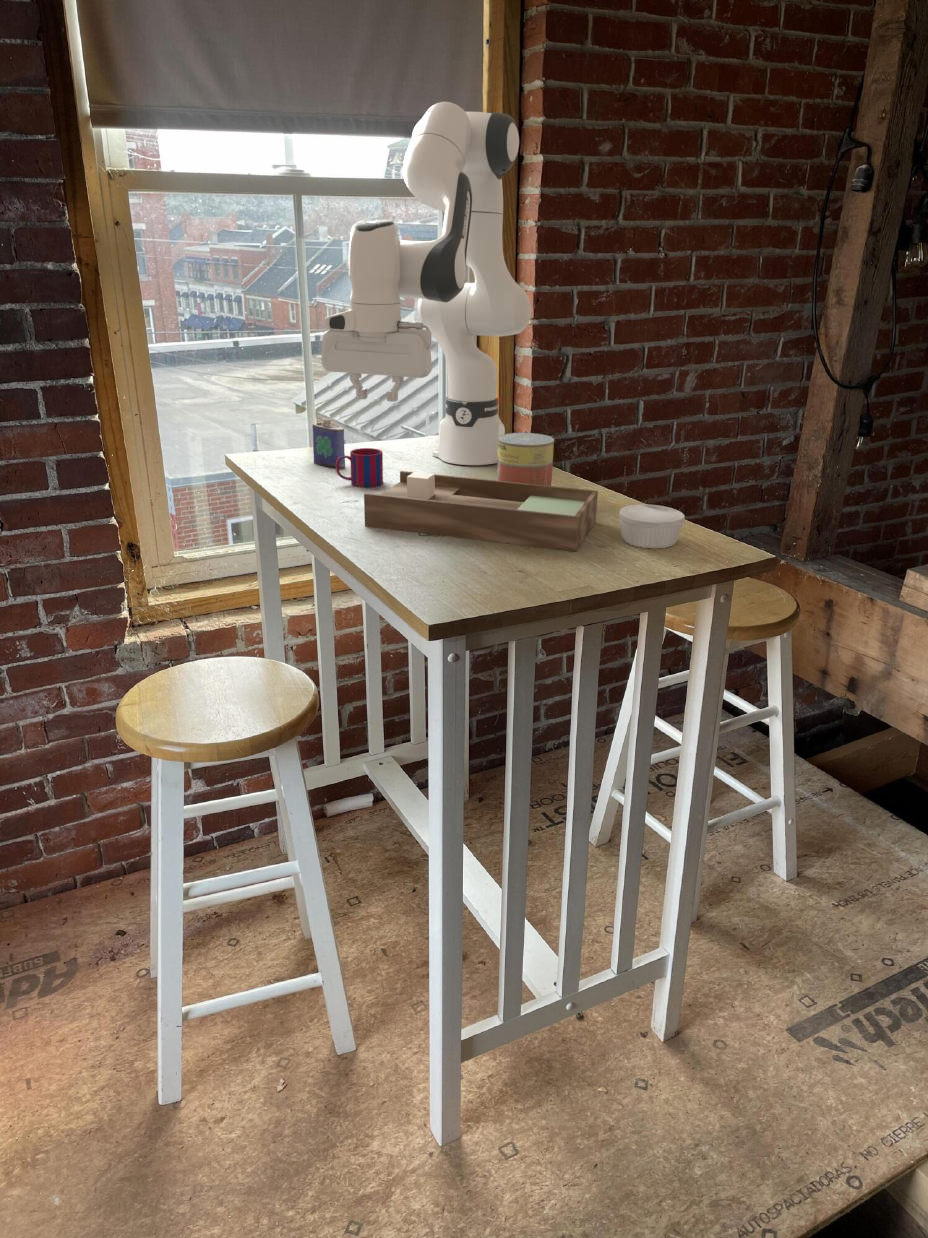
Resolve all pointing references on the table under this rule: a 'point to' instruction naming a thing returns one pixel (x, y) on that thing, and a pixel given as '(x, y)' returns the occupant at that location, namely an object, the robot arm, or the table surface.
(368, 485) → the mug
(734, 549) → the table surface
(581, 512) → the box
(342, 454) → the flask
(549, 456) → the canned food
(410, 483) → the block
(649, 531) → the ramekin
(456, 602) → the table surface
